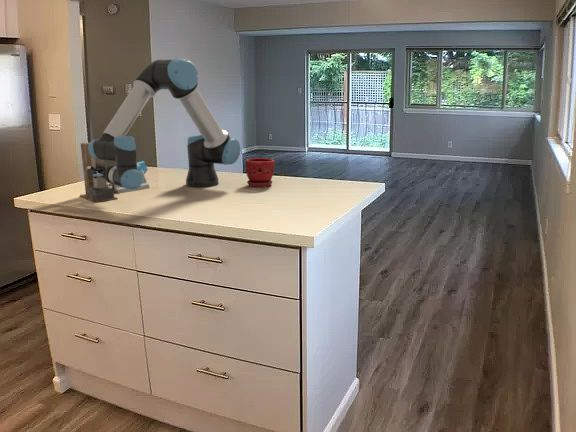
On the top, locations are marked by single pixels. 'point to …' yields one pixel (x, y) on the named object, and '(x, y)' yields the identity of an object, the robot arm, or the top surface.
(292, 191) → the top surface
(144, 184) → the hinge
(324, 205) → the top surface
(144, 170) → the teapot
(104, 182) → the grey rectangular block
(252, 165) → the plant pot
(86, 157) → the dark brown bookend
